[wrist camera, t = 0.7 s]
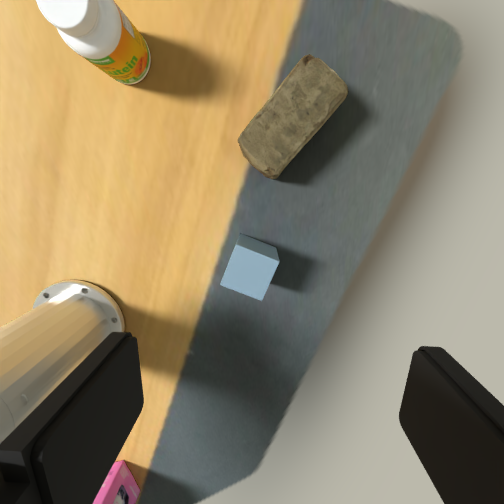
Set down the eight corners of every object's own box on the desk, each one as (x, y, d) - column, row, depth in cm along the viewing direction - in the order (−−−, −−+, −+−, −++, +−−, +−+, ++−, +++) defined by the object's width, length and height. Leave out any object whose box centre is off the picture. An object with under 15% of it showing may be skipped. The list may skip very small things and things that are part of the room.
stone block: (340, 103, 29) (356, 87, 24) (272, 183, 31) (274, 184, 26) (302, 64, 28) (311, 40, 23) (235, 151, 30) (230, 145, 26)
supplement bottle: (119, 94, 29) (52, 53, 20) (93, 43, 28) (8, -27, 18) (161, 71, 28) (111, 17, 19) (135, 18, 27) (69, -69, 18)
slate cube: (261, 280, 34) (261, 300, 29) (226, 267, 34) (219, 284, 28) (276, 247, 33) (279, 261, 27) (240, 233, 33) (236, 244, 27)
